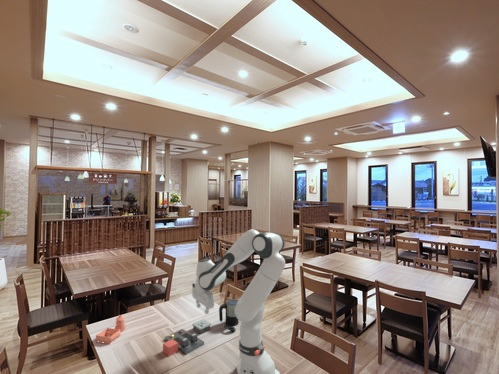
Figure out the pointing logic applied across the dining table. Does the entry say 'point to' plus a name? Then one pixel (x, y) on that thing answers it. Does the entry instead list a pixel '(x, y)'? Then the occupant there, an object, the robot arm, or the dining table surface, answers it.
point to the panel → (180, 335)
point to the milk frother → (229, 314)
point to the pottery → (112, 331)
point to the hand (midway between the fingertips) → (202, 310)
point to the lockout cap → (170, 347)
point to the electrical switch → (201, 326)
